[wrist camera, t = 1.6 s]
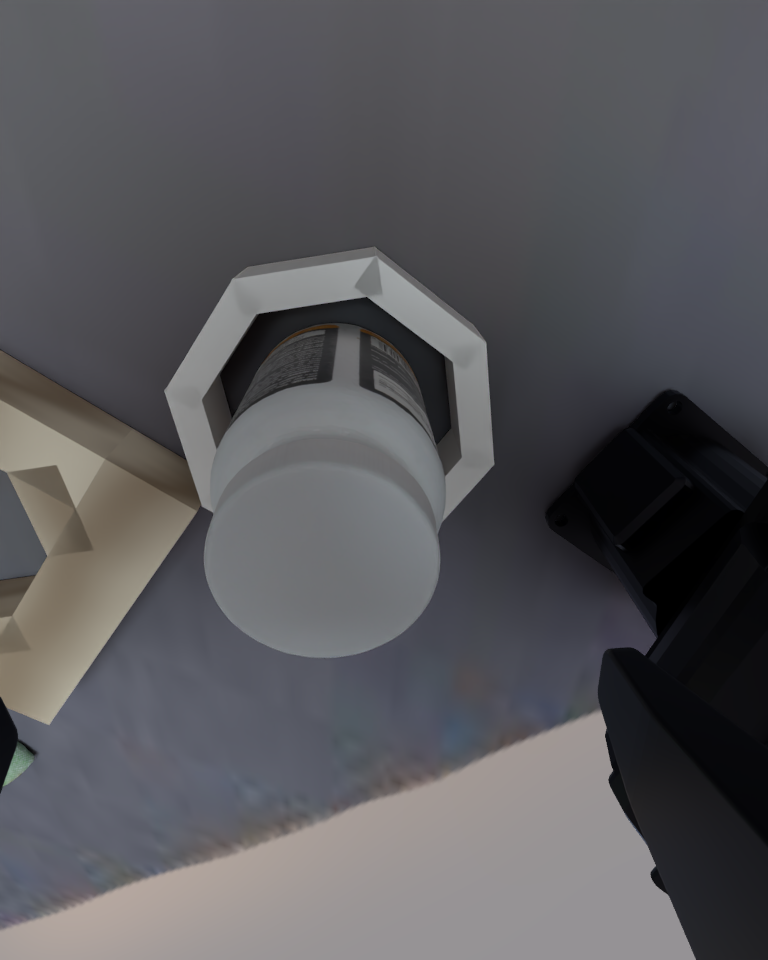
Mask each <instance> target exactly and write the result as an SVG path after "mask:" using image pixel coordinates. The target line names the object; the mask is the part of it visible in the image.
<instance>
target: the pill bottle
mask: <svg viewBox="0 0 768 960" xmlns="http://www.w3.org/2000/svg"><path fill="white" fill-rule="evenodd" d="M210 497H211V504H212V510H213V518H212V520H211V523H210V526H209V529H208V533H207V537H206V541H205V549H204V568H205V574H206V578H207V582H208V585H209V588H210V590H211V593H212V595H213V597H214V599H215V601H216V602H217V604H218V605H219V607H220V608H221V610H222V611H223V612H224V614H225V615H226V616H227V618H228V619H229V620H230V621H231V622H232V623H233V624H234V625H235V626H236V627H238V628H239V629H240V630H241V631H243V632H244V633H246V634H247V635H249V636H250V637H251V638H253V639H255V640H256V641H258V642H260V643H262V644H264V645H266V646H268V647H271V648H273V649H275V650H278V651H281V652H285V653H288V654H293V655H298V656H304V657H313V658H334V657H343V656H350V655H355V654H359V653H362V652H366V651H369V650H371V649H374V648H376V647H379V646H381V645H383V644H385V643H387V642H389V641H391V640H392V639H394V638H395V637H397V636H399V635H400V634H401V633H403V632H404V631H405V630H406V629H408V628H409V627H410V626H411V625H412V624H413V623H414V622H415V621H416V620H417V619H418V618H419V616H420V615H421V614H422V613H423V611H424V610H425V608H426V607H427V605H428V604H429V602H430V600H431V598H432V596H433V593H434V591H435V588H436V585H437V582H438V578H439V573H440V562H441V556H440V545H439V538H438V532H439V529H440V527H441V523H442V520H443V516H444V511H445V501H446V483H445V473H444V469H443V465H442V462H441V459H440V456H439V454H438V450H437V446H436V443H435V440H434V436H433V433H432V430H431V427H430V422H429V419H428V416H427V412H426V408H425V405H424V401H423V398H422V394H421V390H420V387H419V384H418V382H417V379H416V377H415V375H414V373H413V370H412V368H411V367H410V365H409V363H408V362H407V360H406V359H405V358H404V357H403V355H402V354H401V353H400V352H399V351H398V350H397V349H396V348H395V347H394V346H393V345H392V344H391V343H390V342H388V341H387V340H386V339H384V338H383V337H381V336H379V335H378V334H376V333H374V332H372V331H369V330H367V329H365V328H362V327H359V326H356V325H350V324H343V323H325V324H318V325H314V326H311V327H308V328H305V329H302V330H299V331H297V332H295V333H293V334H291V335H290V336H288V337H287V338H285V339H284V340H283V341H281V342H280V343H279V344H278V345H277V346H276V347H275V348H274V349H273V350H272V351H271V352H270V353H269V355H268V356H267V357H266V358H265V360H264V361H263V363H262V364H261V366H260V367H259V369H258V371H257V372H256V374H255V376H254V378H253V380H252V382H251V384H250V386H249V388H248V390H247V391H246V394H245V396H244V397H243V399H242V401H241V403H240V405H239V407H238V409H237V411H236V413H235V414H234V416H233V418H232V420H231V422H230V424H229V426H228V428H227V430H226V432H225V434H224V436H223V437H222V439H221V442H220V444H219V446H218V448H217V451H216V454H215V457H214V461H213V464H212V470H211V477H210Z"/></svg>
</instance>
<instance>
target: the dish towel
mask: <svg viewBox="0 0 768 960" xmlns="http://www.w3.org/2000/svg"><path fill="white" fill-rule="evenodd" d="M33 761H34V755H33V754H32V753H31V752H30V751H28V750H27V748H26V747H25V746H24V745H22V744H21V743H19V742H17V747H16V750H15V753H14V756H13V759H12V762H11V765H10V767H9V770H8V773H7V776H6V779H5V782H4V785H3V787H4V786H5V785H7V784H9V783H10V782H12V781H13V780H14V779H16V778H17V777H18V776H20V775H21V774H22V773H23V772H24V771H25V770H26V769H27V768H28V766H29V765H30V764H31V763H32V762H33Z"/></svg>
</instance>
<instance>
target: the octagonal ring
mask: <svg viewBox="0 0 768 960" xmlns="http://www.w3.org/2000/svg"><path fill="white" fill-rule="evenodd" d="M363 297H368V298H369V299H370V300H372V301H373V302H374V303H376V304H377V305H378V306H380V307H381V308H382V309H384V310H385V311H386V312H388V313H389V314H390V315H391V316H393V317H394V318H395V319H397V320H398V321H399V322H401V323H402V324H403V325H405V326H406V327H407V328H409V329H410V330H411V331H413V332H414V333H415V334H417V335H418V336H419V337H421V338H422V339H423V340H425V341H426V342H427V343H428V344H430V345H431V346H432V347H434V348H435V349H436V350H438V351H439V352H440V353H442V354H443V355H444V358H445V368H446V378H447V388H448V398H449V409H450V419H451V429H450V430H449V431H448V432H447V434H446V435H445V436H444V437H443V438H442V439H441V441H440V442H439V443H438V444H437V445H436V446H437V450H438V454H439V456H440V459H441V462H442V465H443V469H444V473H445V483H446V501H445V511H444V516H443V520H442V522H443V521H444V520H445V519H446V517H447V516H448V515H449V514H450V513H451V512H452V511H453V510H454V509H455V507H456V506H457V505H458V504H459V503H460V502H461V501H462V500H463V499H464V498H465V496H466V495H467V494H468V493H469V492H470V491H471V490H472V489H473V488H474V487H475V485H476V484H477V483H478V482H479V481H480V480H481V479H482V478H483V477H484V476H485V474H486V473H487V472H488V471H489V470H490V469H491V468H492V467H493V466H494V464H495V463H494V453H493V438H492V423H491V408H490V393H489V378H488V363H487V347H486V344H487V343H486V341H485V340H484V338H483V337H482V336H481V334H480V333H479V332H478V330H477V329H476V328H475V326H474V325H473V324H472V323H470V322H469V321H468V320H467V319H465V318H464V317H463V316H462V315H460V314H459V313H458V312H456V311H455V310H454V309H453V308H451V307H450V306H449V305H448V304H446V303H445V302H444V301H443V300H441V299H440V298H439V297H438V296H436V295H435V294H434V293H432V292H431V291H430V290H429V289H427V288H426V287H425V286H424V285H422V284H421V283H420V282H419V281H417V280H416V279H415V278H414V277H412V276H411V275H410V274H408V273H407V272H406V271H405V270H403V269H402V268H401V267H400V266H398V265H397V264H396V263H395V262H393V261H392V260H391V259H390V258H388V257H387V256H386V255H384V254H383V253H382V252H381V251H379V250H378V249H377V248H376V247H370V248H364V249H357V250H351V251H345V252H338V253H332V254H326V255H319V256H313V257H307V258H300V259H294V260H288V261H281V262H275V263H269V264H262V265H256V266H248V267H247V268H245V269H244V270H243V271H242V272H240V273H239V274H238V275H236V276H235V277H234V278H233V279H232V281H231V283H230V284H229V286H228V288H227V289H226V291H225V293H224V294H223V296H222V298H221V299H220V301H219V302H218V304H217V306H216V307H215V309H214V311H213V312H212V314H211V316H210V317H209V319H208V321H207V322H206V324H205V326H204V327H203V329H202V330H201V332H200V334H199V335H198V337H197V339H196V340H195V342H194V344H193V345H192V347H191V349H190V350H189V352H188V354H187V355H186V357H185V358H184V360H183V362H182V363H181V365H180V367H179V368H178V370H177V372H176V373H175V375H174V377H173V378H172V380H171V381H170V383H169V385H168V386H167V388H166V389H165V390H164V393H165V395H166V398H167V401H168V404H169V407H170V410H171V413H172V416H173V419H174V422H175V425H176V428H177V431H178V434H179V437H180V441H181V444H182V447H183V450H184V453H185V456H186V459H187V462H188V465H189V468H190V471H191V474H192V477H193V480H194V483H195V486H196V489H197V492H198V495H199V498H200V502H201V505H202V507H204V508H206V509H207V510H209V511H211V512H213V510H212V504H211V497H210V477H211V470H212V464H213V461H214V457H215V454H216V451H217V448H218V446H219V444H220V442H221V439H222V437H223V436H224V434H225V432H226V430H227V428H228V426H229V424H230V422H231V420H232V417H231V413H230V410H229V406H228V402H227V399H226V395H225V392H224V388H223V385H222V381H221V377H220V374H221V372H222V370H223V369H224V367H225V366H226V364H227V363H228V361H229V360H230V358H231V356H232V355H233V353H234V352H235V350H236V349H237V347H238V346H239V344H240V342H241V341H242V339H243V338H244V336H245V335H246V333H247V331H248V330H249V328H250V327H251V325H252V324H253V322H254V321H255V319H256V317H257V316H258V314H260V313H266V312H272V311H279V310H285V309H292V308H298V307H305V306H311V305H318V304H324V303H331V302H337V301H343V300H350V299H356V298H363Z"/></svg>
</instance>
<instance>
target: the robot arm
mask: <svg viewBox="0 0 768 960" xmlns="http://www.w3.org/2000/svg"><path fill="white" fill-rule="evenodd" d="M673 401H677V405H676V406H675V408H674V409H672V410H671V411H667V408H668V406H669V404H670V403H672V402H673ZM559 515H565V517H564V518H563V519H562V520H560V521H555V519H556V517H558V516H559ZM545 518H546V522H547V523H548V525H549V527H550V528H551V529H552V530H553V531H554V532H556V533H557V534H559V535H560V536H562V537H563V538H564V539H566V540H567V541H569V542H570V543H572V544H573V545H575V546H576V547H577V548H579V549H580V550H582V551H583V552H585V553H586V554H588V555H589V556H590V557H592V558H593V559H595V560H596V561H598V562H599V563H601V564H602V565H603V566H605V567H606V568H608V569H609V570H611V571H612V572H614V573H615V574H616V575H617V576H618V578H619V580H620V581H621V583H622V584H623V586H624V587H625V589H626V591H627V592H628V594H629V595H630V597H631V598H632V600H633V602H634V603H635V605H636V606H637V608H638V609H639V611H640V613H641V614H642V616H643V617H644V619H645V620H646V622H647V624H648V625H649V627H650V628H651V630H652V631H653V633H654V635H655V636H656V638H657V639H656V641H655V642H654V644H653V645H652V647H651V648H650V650H649V651H648V652H647V654H646V655H645V656H644V655H643V654H642V653H640V652H639V651H638V650H636V649H634V648H614V649H608V650H606V651H605V652H604V654H603V658H602V665H601V671H600V678H599V685H598V699H599V704H600V707H601V711H602V714H603V717H604V720H605V723H606V726H607V729H606V734H605V738H606V742H607V747H608V752H609V757H610V761H611V766H612V768H613V772H612V774H611V775H610V776H609V784H610V787H611V789H612V791H613V793H614V794H615V796H616V798H617V800H618V802H619V803H620V805H621V807H622V809H623V811H624V813H625V815H626V817H627V818H628V820H629V821H630V822H631V824H632V825H633V827H634V828H635V829H636V831H637V832H638V833H639V835H640V836H641V837H642V839H643V840H644V841H645V843H646V844H647V846H648V848H649V850H650V852H651V855H652V857H653V860H654V862H655V864H656V867H655V868H654V869H653V870H652V871H651V878H652V880H653V882H654V883H655V884H656V886H657V887H659V888H660V889H661V890H662V891H664V892H665V893H667V894H668V895H669V897H670V899H671V902H672V904H673V907H674V909H675V911H676V913H677V916H678V918H679V920H680V923H681V925H682V928H683V930H684V932H685V935H686V937H687V939H688V942H689V944H690V946H691V949H692V951H693V954H694V956H695V958H696V960H768V467H767V466H766V465H765V464H763V463H762V462H761V461H760V460H759V459H758V458H756V457H755V456H754V455H753V454H752V453H751V452H750V451H748V450H747V449H746V448H745V447H744V446H743V445H741V444H740V443H739V442H738V441H737V440H736V439H735V438H733V437H732V436H731V435H730V434H729V433H728V432H726V431H725V430H724V429H723V428H722V427H721V426H719V425H718V424H717V423H716V422H715V421H714V420H713V419H711V418H710V417H709V416H708V415H707V414H706V413H704V412H703V411H702V410H701V409H700V408H699V407H698V406H696V405H695V404H694V403H693V402H692V401H691V400H689V399H688V398H687V397H686V396H684V395H683V394H682V393H680V392H678V391H674V390H670V391H667V392H664V393H663V394H662V395H660V396H659V397H658V398H657V399H656V400H655V401H654V402H653V403H652V404H651V405H650V406H649V407H648V408H647V409H646V410H645V411H644V412H643V414H642V415H641V416H640V417H639V418H638V419H637V420H636V421H635V422H634V423H633V424H632V425H631V426H630V427H629V428H628V429H625V430H623V431H621V432H620V433H619V435H618V436H617V437H616V438H615V439H614V440H613V441H612V442H611V443H610V444H609V445H608V446H607V447H606V448H605V449H604V450H603V451H602V452H601V453H600V454H599V455H598V456H597V457H596V458H595V459H594V460H593V461H592V462H591V463H590V464H589V465H588V466H587V467H586V468H585V469H584V470H583V471H582V472H581V473H580V474H579V475H578V476H577V477H576V479H575V483H574V484H573V485H572V486H571V487H570V488H569V489H568V490H567V491H566V492H565V493H564V494H563V495H562V496H561V497H560V498H559V499H558V500H557V501H556V502H555V503H554V504H553V505H552V506H551V507H550V508H549V509H548V511H547V512H546V516H545ZM17 742H18V733H17V729H16V726H15V724H14V722H13V720H12V718H11V716H10V714H9V712H8V710H7V708H6V706H5V704H4V702H3V700H2V698H1V697H0V793H1V790H2V787H3V785H4V782H5V779H6V776H7V773H8V770H9V767H10V765H11V762H12V759H13V756H14V753H15V750H16V747H17Z"/></svg>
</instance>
